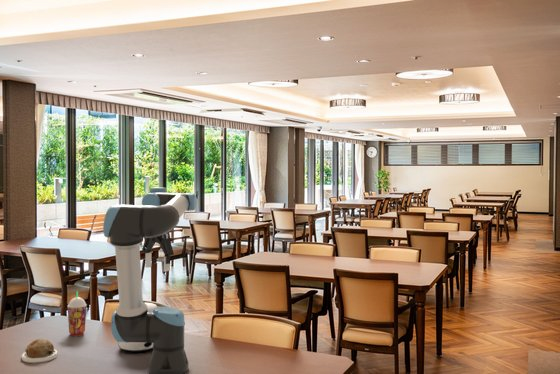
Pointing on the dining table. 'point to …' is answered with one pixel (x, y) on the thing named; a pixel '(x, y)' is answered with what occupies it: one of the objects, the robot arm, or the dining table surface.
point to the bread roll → (39, 348)
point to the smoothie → (77, 316)
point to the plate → (37, 360)
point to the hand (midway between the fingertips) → (157, 269)
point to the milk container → (138, 345)
